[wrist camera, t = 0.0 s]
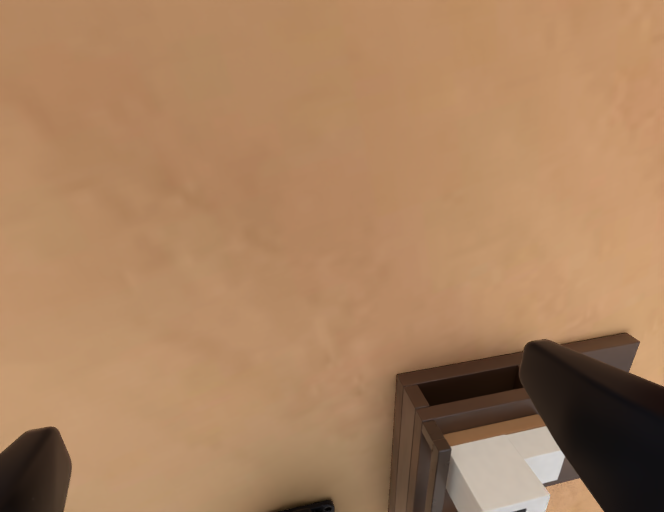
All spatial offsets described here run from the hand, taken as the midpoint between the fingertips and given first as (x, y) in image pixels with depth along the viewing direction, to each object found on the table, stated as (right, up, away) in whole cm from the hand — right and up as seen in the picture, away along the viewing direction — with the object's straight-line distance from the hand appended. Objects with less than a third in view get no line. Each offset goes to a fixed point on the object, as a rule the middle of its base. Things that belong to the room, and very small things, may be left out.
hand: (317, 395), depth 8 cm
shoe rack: (+14, -11, +26) cm, 31 cm away
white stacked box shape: (+10, -9, +19) cm, 24 cm away
